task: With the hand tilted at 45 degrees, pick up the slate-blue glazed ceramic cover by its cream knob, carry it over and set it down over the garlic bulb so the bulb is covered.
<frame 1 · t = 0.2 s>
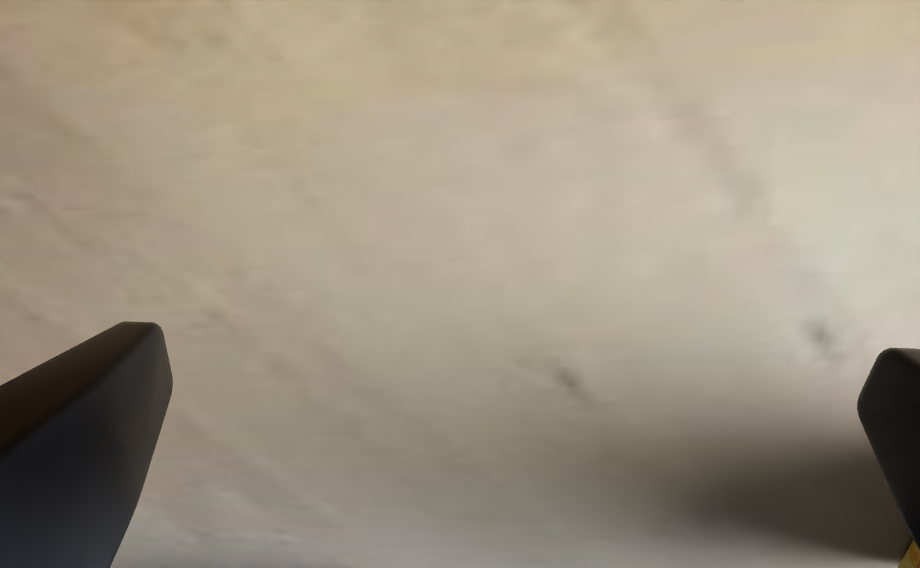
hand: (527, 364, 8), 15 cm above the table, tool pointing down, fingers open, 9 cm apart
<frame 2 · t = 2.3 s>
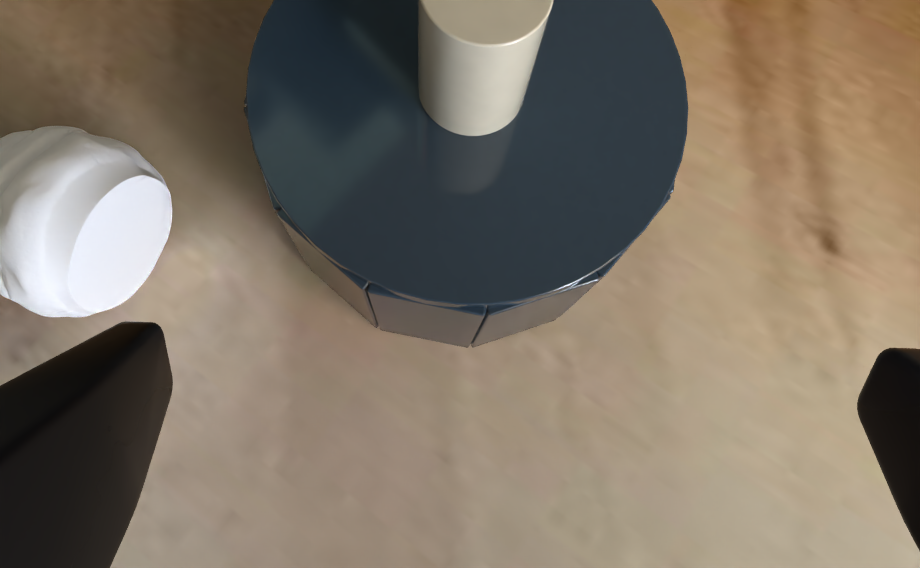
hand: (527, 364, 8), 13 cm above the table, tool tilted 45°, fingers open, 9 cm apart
cover: (457, 178, 23), on the table
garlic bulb: (80, 236, 22), on the table
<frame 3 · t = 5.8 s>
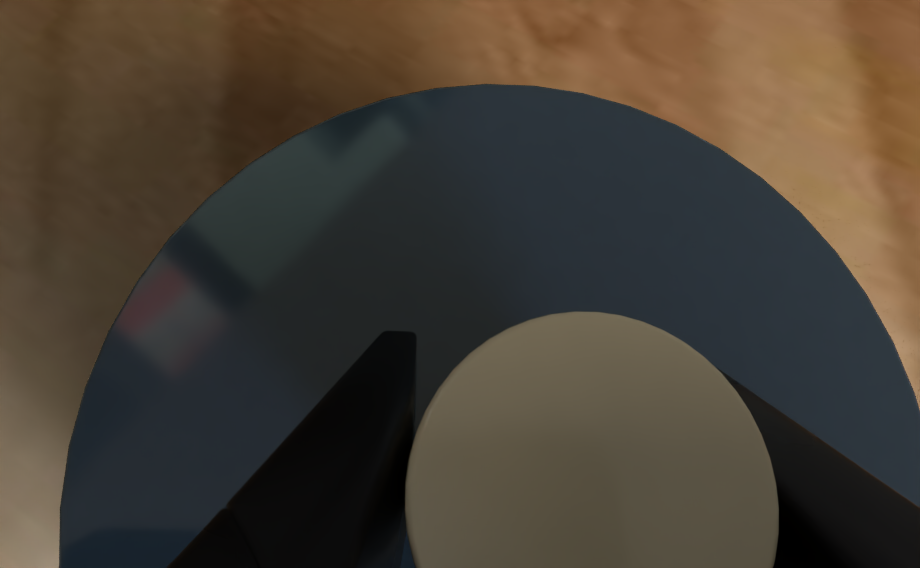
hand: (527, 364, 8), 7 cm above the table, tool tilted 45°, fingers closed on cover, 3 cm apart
cover: (477, 467, 15), on the table, touching gripper
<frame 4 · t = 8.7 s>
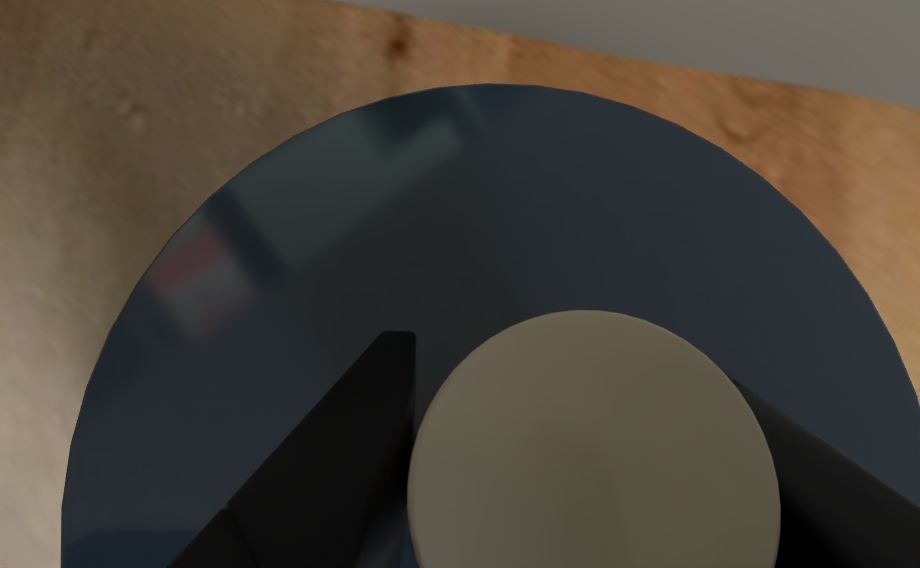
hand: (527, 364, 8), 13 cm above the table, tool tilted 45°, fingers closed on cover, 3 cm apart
cover: (477, 466, 15), point 7 cm above the table, touching gripper
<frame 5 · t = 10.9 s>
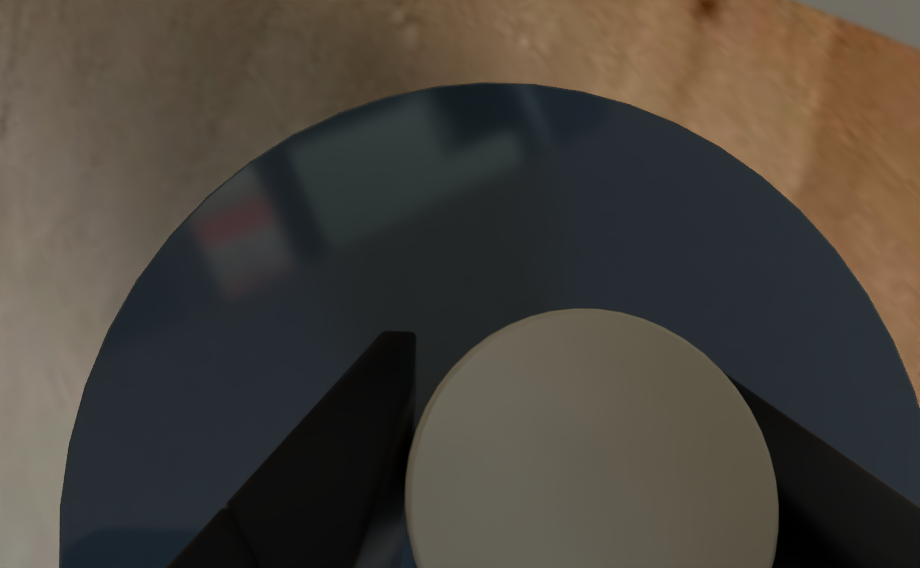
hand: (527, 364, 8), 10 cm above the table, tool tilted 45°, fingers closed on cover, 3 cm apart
cover: (477, 466, 15), point 3 cm above the table, touching gripper
when the fingers open (7 cm above the table, at t = 12.0 s): cover stays where it is, on the table.
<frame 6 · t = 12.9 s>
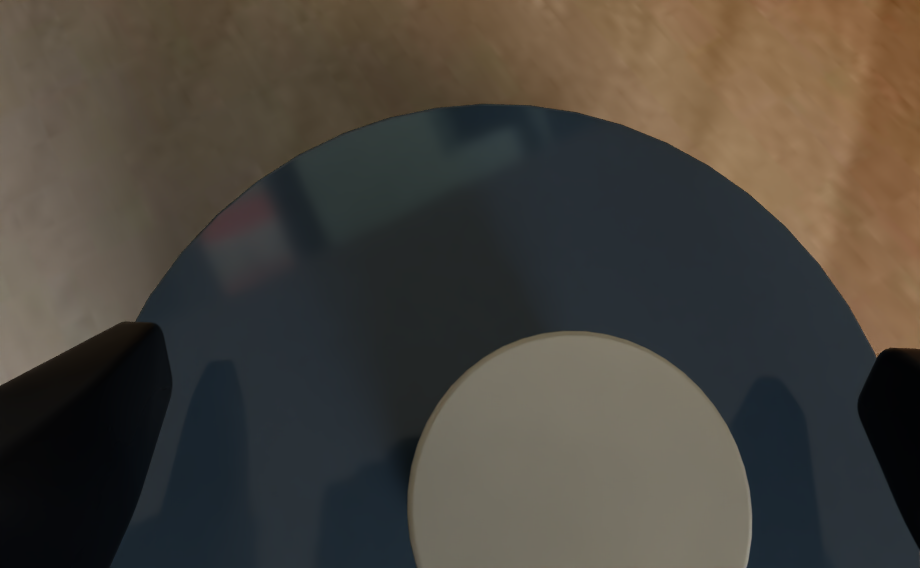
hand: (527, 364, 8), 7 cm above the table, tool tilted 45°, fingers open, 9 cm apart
cover: (476, 470, 15), on the table
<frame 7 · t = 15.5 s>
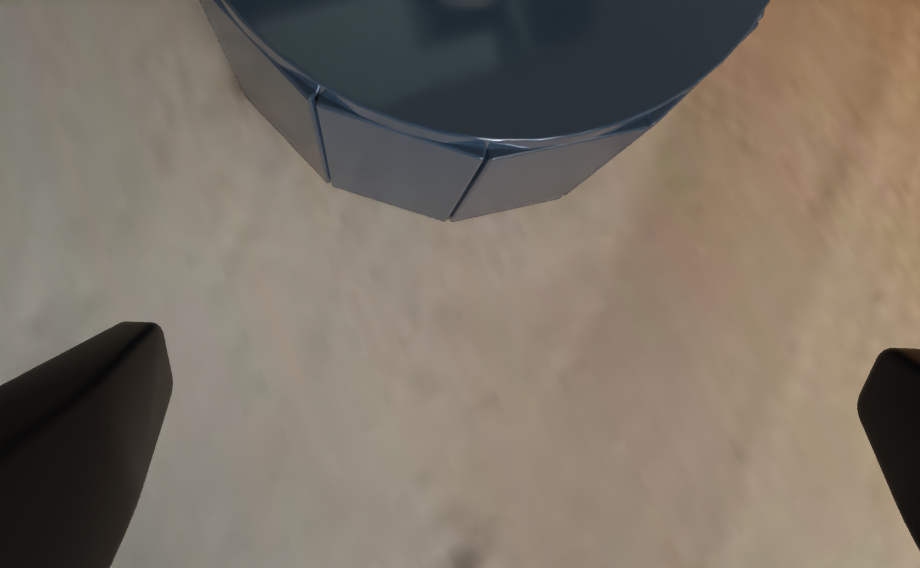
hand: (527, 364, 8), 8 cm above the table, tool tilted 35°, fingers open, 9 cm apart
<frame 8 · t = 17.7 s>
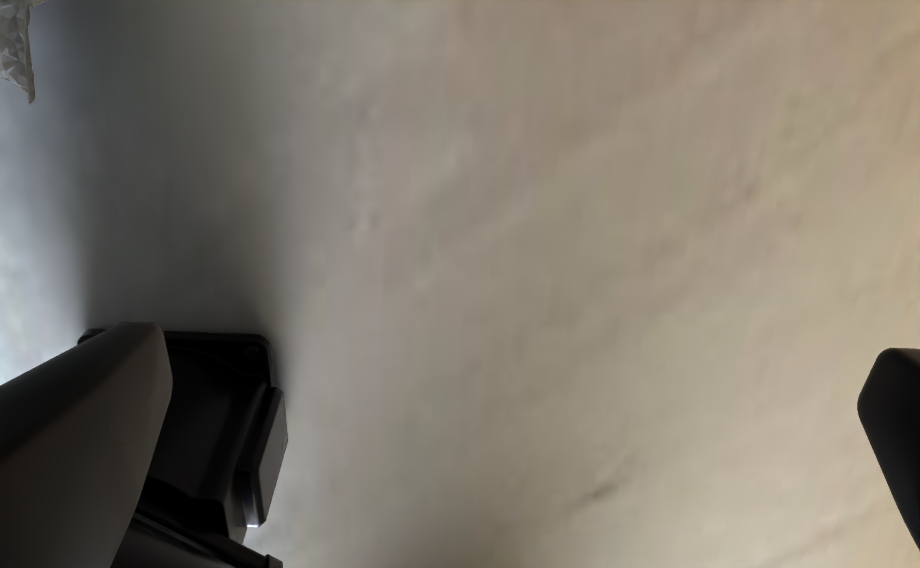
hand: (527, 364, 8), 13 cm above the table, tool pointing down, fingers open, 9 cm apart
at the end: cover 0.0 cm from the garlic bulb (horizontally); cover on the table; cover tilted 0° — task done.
